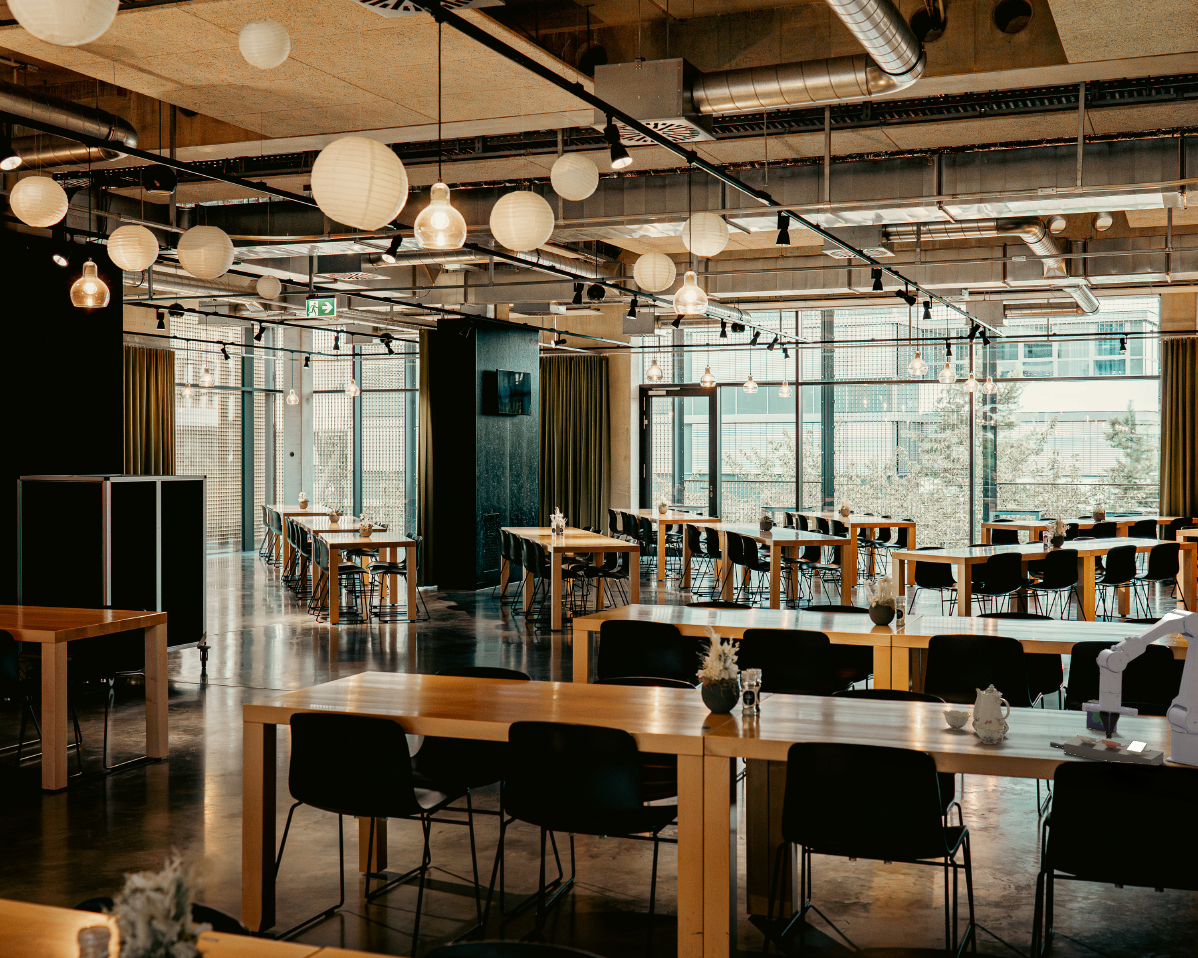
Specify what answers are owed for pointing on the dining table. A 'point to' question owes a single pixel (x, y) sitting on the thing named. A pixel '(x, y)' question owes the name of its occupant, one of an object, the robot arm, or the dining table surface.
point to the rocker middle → (1111, 743)
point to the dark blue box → (1096, 719)
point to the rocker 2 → (1136, 747)
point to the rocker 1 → (1086, 739)
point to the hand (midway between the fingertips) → (1108, 737)
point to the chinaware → (983, 716)
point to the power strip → (1110, 752)
